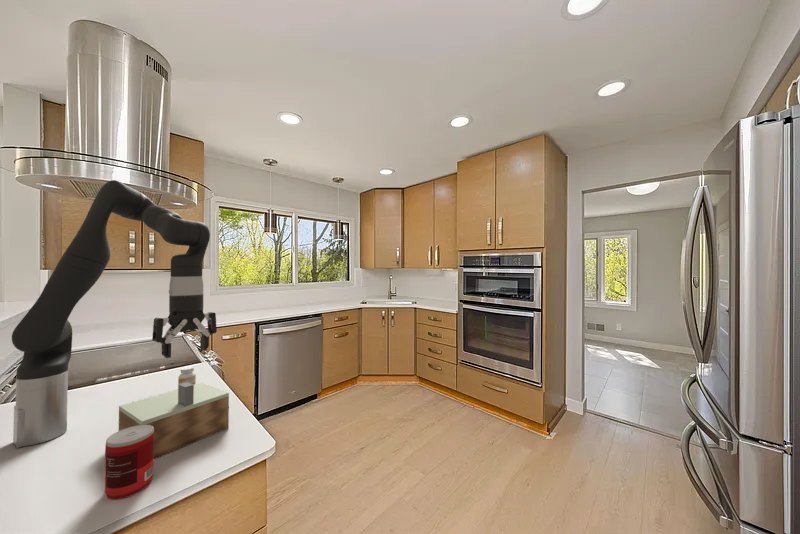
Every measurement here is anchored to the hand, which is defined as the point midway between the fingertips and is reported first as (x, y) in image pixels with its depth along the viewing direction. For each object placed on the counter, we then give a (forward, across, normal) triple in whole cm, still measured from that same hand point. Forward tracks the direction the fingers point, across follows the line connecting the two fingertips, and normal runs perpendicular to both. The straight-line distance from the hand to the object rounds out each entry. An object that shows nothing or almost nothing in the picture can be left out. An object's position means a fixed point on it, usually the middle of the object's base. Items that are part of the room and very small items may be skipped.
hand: (186, 353), depth 81 cm
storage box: (+23, 0, +5) cm, 24 cm away
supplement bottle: (+24, +15, +36) cm, 46 cm away
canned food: (+23, -14, -10) cm, 29 cm away
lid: (+14, 0, +5) cm, 15 cm away
